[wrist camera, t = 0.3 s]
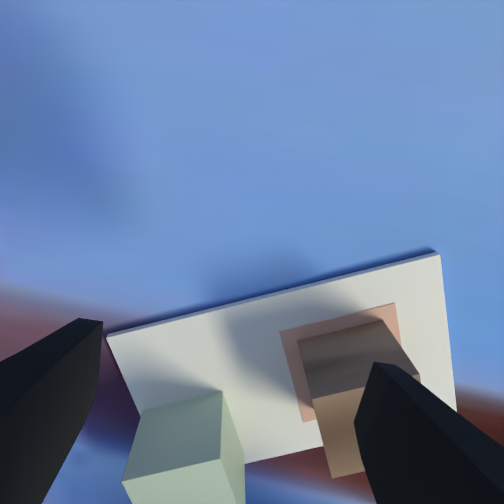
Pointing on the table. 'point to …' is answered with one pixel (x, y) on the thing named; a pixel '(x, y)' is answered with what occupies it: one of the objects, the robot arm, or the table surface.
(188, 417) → the sage block
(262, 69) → the table surface
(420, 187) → the table surface
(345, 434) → the walnut block
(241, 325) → the build mat
